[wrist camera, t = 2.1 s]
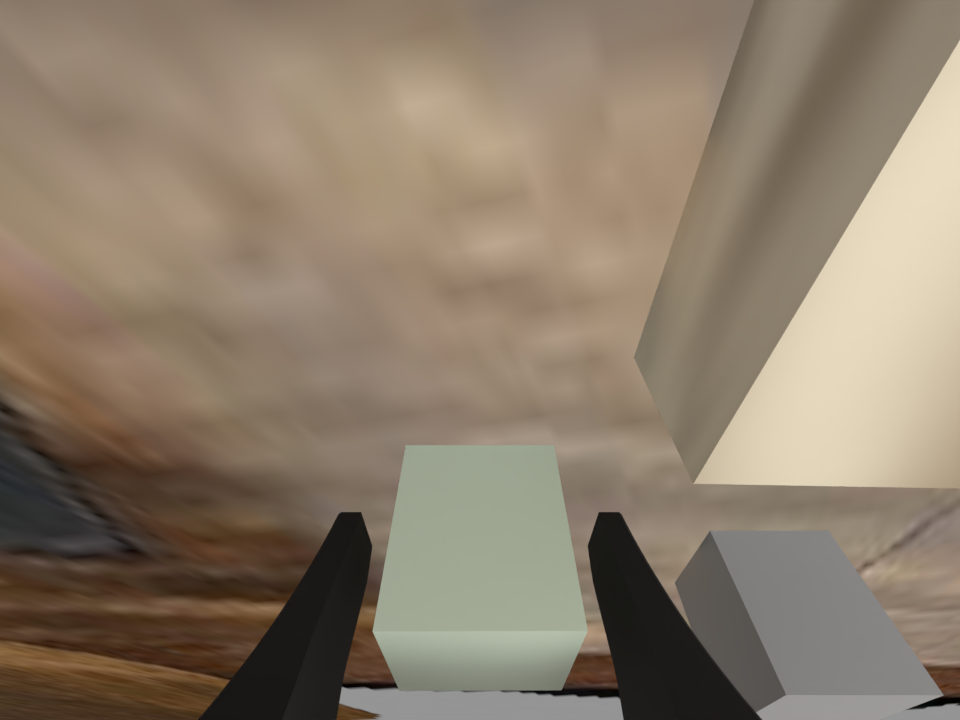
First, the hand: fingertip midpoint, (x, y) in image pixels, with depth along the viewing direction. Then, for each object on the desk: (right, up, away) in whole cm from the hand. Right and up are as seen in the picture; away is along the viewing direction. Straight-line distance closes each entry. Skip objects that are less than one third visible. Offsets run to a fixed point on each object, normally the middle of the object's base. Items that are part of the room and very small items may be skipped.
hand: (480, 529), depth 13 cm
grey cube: (+11, -3, +4) cm, 12 cm away
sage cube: (0, +1, +1) cm, 2 cm away
